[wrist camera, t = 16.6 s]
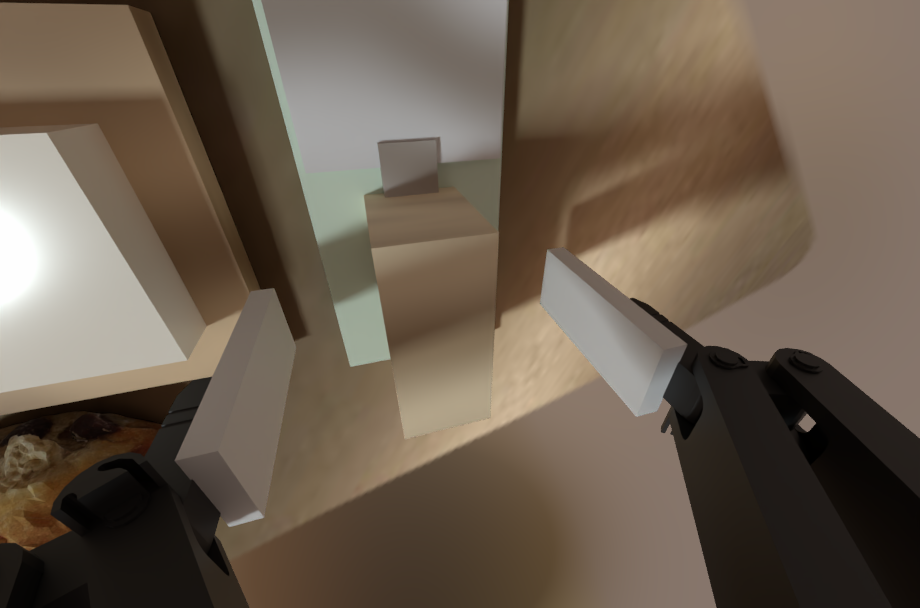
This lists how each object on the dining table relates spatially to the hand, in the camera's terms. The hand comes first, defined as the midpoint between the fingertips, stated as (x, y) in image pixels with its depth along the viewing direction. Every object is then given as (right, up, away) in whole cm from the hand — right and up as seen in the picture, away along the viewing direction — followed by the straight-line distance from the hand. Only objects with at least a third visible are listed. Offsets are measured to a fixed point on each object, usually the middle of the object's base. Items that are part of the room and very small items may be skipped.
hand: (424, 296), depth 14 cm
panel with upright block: (-1, +4, -1) cm, 4 cm away
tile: (-15, 0, -5) cm, 16 cm away
